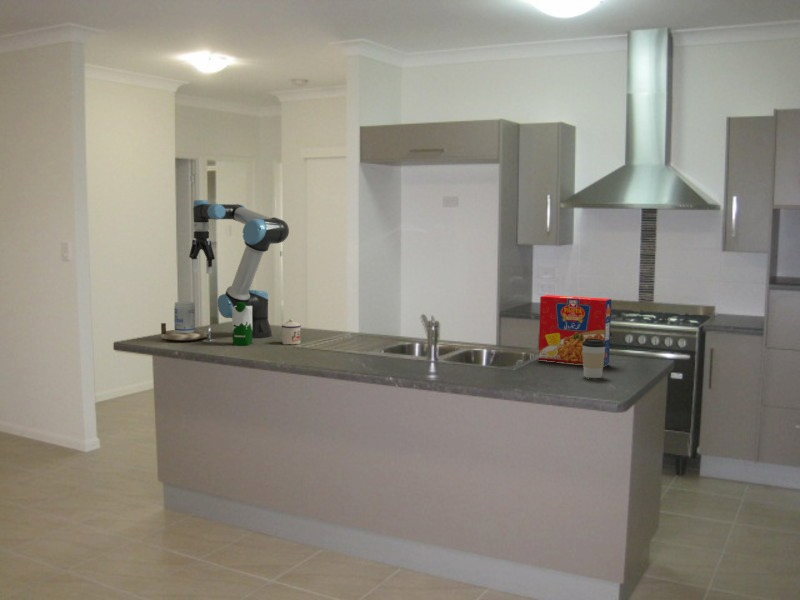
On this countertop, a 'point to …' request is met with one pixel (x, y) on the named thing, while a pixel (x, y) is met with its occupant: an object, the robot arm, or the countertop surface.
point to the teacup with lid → (291, 332)
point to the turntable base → (184, 340)
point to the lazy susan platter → (177, 336)
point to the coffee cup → (593, 357)
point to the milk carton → (242, 324)
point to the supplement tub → (184, 317)
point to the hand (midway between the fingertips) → (202, 272)
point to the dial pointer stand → (208, 335)
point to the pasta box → (572, 326)
